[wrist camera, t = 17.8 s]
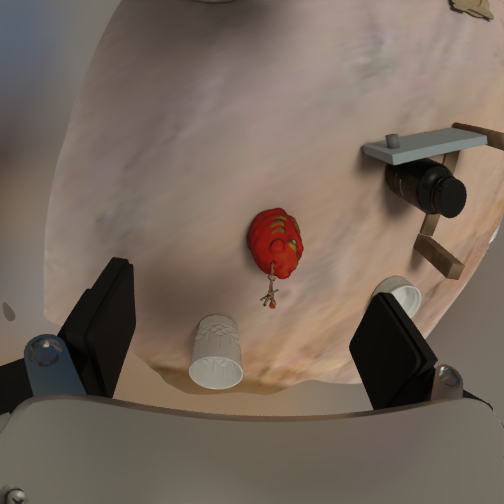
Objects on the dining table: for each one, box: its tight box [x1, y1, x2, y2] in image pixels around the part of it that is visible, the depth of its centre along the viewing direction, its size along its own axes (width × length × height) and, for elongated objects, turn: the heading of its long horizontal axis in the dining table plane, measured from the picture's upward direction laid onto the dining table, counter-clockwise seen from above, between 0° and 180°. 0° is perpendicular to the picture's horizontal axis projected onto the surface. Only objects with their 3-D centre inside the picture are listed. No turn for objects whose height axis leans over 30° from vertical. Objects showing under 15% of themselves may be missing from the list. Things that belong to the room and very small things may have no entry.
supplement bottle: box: [386, 158, 467, 218], centre depth 32 cm, size 7×7×12 cm
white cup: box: [189, 315, 243, 389], centre depth 43 cm, size 8×8×10 cm
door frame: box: [414, 123, 504, 280], centre depth 32 cm, size 23×3×13 cm, turn 169°
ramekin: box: [372, 276, 421, 318], centre depth 45 cm, size 9×9×4 cm
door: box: [363, 128, 487, 165], centre depth 30 cm, size 17×3×8 cm, turn 108°
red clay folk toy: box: [247, 208, 304, 309], centre depth 33 cm, size 8×7×15 cm
